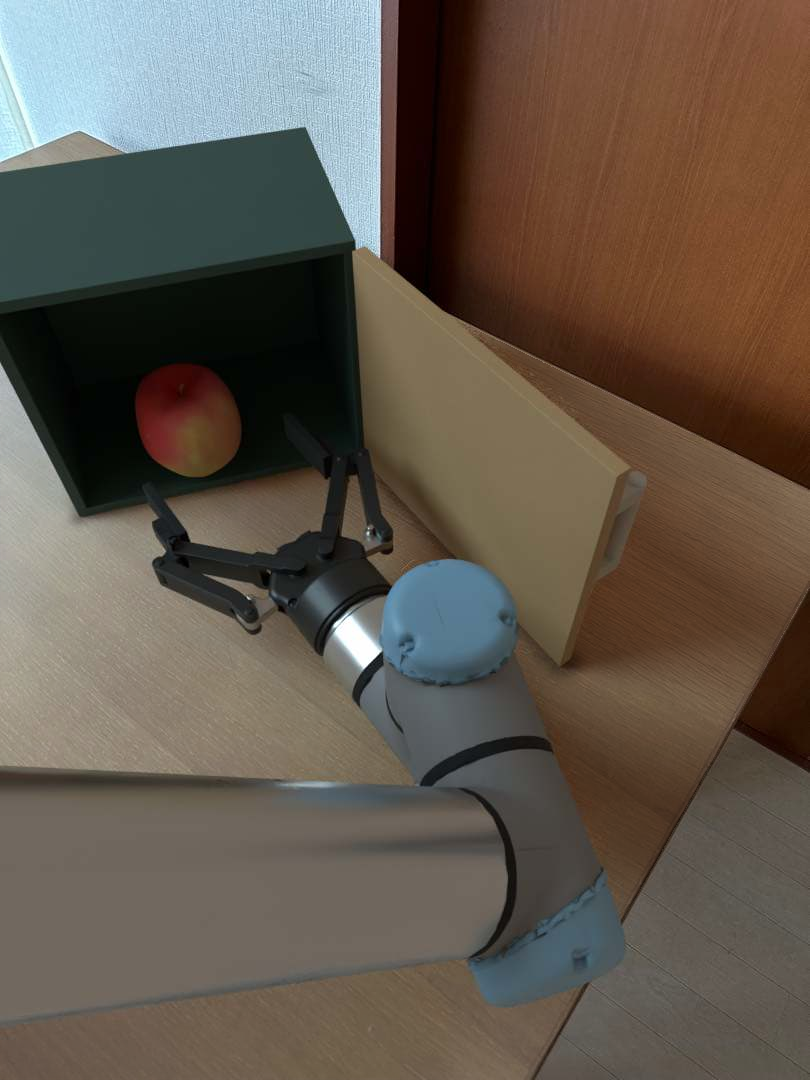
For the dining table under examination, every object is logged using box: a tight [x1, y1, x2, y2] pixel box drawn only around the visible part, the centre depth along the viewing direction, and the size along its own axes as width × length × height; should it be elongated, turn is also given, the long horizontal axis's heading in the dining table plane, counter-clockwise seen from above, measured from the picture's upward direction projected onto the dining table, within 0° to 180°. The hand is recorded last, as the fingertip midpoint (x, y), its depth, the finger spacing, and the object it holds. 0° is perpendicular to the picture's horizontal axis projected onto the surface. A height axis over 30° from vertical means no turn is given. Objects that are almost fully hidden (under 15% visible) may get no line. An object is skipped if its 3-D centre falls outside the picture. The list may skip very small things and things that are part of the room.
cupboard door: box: [352, 245, 648, 667], centre depth 67 cm, size 7×28×24 cm, turn 36°
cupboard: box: [0, 126, 365, 518], centre depth 76 cm, size 18×28×24 cm, turn 106°
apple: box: [135, 363, 241, 477], centre depth 77 cm, size 10×10×10 cm
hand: (221, 457), depth 72 cm, fingers open, 13 cm apart
